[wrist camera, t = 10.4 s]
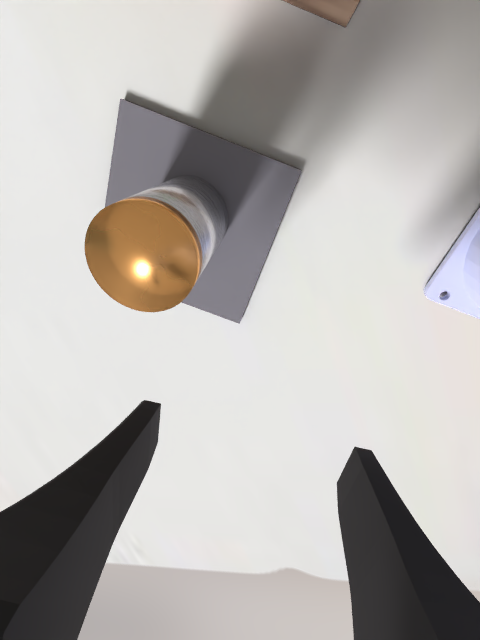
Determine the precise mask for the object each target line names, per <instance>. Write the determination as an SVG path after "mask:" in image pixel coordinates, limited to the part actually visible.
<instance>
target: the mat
mask: <svg viewBox="0 0 480 640" xmlns="http://www.w3.org/2000/svg"><path fill="white" fill-rule="evenodd" d="M300 173H301V170H300V169H297V168H295V167H292V166H290V165H287V164H285V163H282V162H280V161H277V160H275V159H272V158H270V157H267V156H265V155H262V154H259V153H257V152H254V151H252V150H249V149H247V148H244V147H242V146H239V145H237V144H234V143H232V142H229V141H227V140H224V139H222V138H219V137H217V136H214V135H212V134H209V133H207V132H204V131H202V130H199V129H197V128H194V127H192V126H189V125H187V124H184V123H182V122H179V121H177V120H174V119H172V118H169V117H167V116H164V115H162V114H159V113H157V112H154V111H152V110H149V109H147V108H144V107H142V106H139V105H137V104H134V103H132V102H129V101H127V100H124V99H120V105H119V112H118V119H117V126H116V133H115V140H114V147H113V154H112V161H111V168H110V175H109V182H108V189H107V196H106V203H105V207H107V206H109V205H111V204H113V203H116V202H118V201H120V200H123V199H125V198H128V197H130V196H133V195H135V194H137V193H140V192H142V191H145V190H147V189H149V188H152V187H154V186H157V185H159V184H162V183H164V182H166V181H169V180H171V179H174V178H177V177H180V176H194V177H198V178H201V179H203V180H205V181H207V182H209V183H210V184H211V185H213V186H214V187H215V188H216V189H217V190H218V192H219V193H220V194H221V196H222V198H223V199H224V202H225V204H226V207H227V212H228V226H227V230H226V233H225V235H224V237H223V239H222V240H221V242H220V244H219V245H218V247H217V249H216V250H215V252H214V254H213V255H212V257H211V259H210V260H209V262H208V263H207V265H206V267H205V268H204V270H203V272H202V273H201V275H200V277H199V278H198V280H197V282H196V283H195V285H194V287H193V288H192V290H191V292H190V293H189V294H188V296H187V297H186V298H185V299H184V300H183V301H182V303H185V304H187V305H190V306H193V307H196V308H198V309H201V310H204V311H206V312H209V313H212V314H215V315H217V316H220V317H223V318H225V319H228V320H231V321H234V322H236V323H240V321H241V319H242V316H243V314H244V311H245V309H246V306H247V304H248V301H249V299H250V296H251V294H252V291H253V289H254V287H255V284H256V282H257V279H258V277H259V274H260V272H261V269H262V267H263V264H264V262H265V259H266V257H267V254H268V252H269V250H270V247H271V245H272V242H273V240H274V237H275V235H276V232H277V230H278V227H279V225H280V222H281V220H282V217H283V215H284V213H285V210H286V208H287V205H288V203H289V200H290V198H291V195H292V193H293V190H294V188H295V185H296V183H297V180H298V178H299V176H300Z"/></svg>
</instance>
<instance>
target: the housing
mask: <svg viewBox="0 0 480 640" xmlns="http://www.w3.org/2000/svg"><path fill="white" fill-rule="evenodd" d="M283 1H285V2H287V3H290V4H292V5H294V6H297V7H299V8H301V9H304V10H306V11H308V12H311V13H313V14H315V15H318V16H320V17H322V18H325V19H327V20H329V21H332V22H334V23H336V24H339V25H341V26H343V27H346V26H347V24H348V22H349V20H350V18H351V16H352V15H353V13H354V11H355V9H356V7H357V5H358V3H359V1H360V0H283Z"/></svg>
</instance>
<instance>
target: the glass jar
mask: <svg viewBox="0 0 480 640" xmlns="http://www.w3.org/2000/svg"><path fill="white" fill-rule="evenodd" d="M227 226H228V212H227V207H226V204H225V202H224V199H223V198H222V196H221V194H220V193H219V192H218V190H217V189H216V188H215V187H214V186H213V185H211V184H210V183H209V182H207V181H205V180H203V179H201V178H198V177H194V176H180V177H177V178H174V179H171V180H169V181H166V182H164V183H162V184H159V185H157V186H154V187H152V188H149V189H147V190H145V191H142V192H140V193H137V194H135V195H133V196H130V197H128V198H125V199H123V200H120V201H118V202H116V203H113V204H111V205H109V206H107V207H105V208H104V209H102V210H101V211H100V212H99V213H98V214H97V215H96V216H95V217H94V218H93V220H92V221H91V223H90V225H89V227H88V230H87V233H86V238H85V255H86V260H87V264H88V266H89V269H90V271H91V273H92V275H93V277H94V279H95V280H96V282H97V283H98V284H99V286H100V287H101V288H102V289H103V290H104V291H105V292H106V293H107V294H108V295H109V296H110V297H111V298H113V299H114V300H116V301H117V302H119V303H120V304H122V305H124V306H126V307H129V308H131V309H134V310H138V311H144V312H159V311H164V310H167V309H170V308H172V307H174V306H176V305H178V304H179V303H180V302H182V301H183V300H184V299H185V298H186V297H187V296H188V294H189V293H190V292H191V290H192V288H193V287H194V285H195V283H196V282H197V280H198V278H199V277H200V275H201V273H202V272H203V270H204V268H205V267H206V265H207V263H208V262H209V260H210V259H211V257H212V255H213V254H214V252H215V250H216V249H217V247H218V245H219V244H220V242H221V240H222V239H223V237H224V235H225V233H226V230H227Z"/></svg>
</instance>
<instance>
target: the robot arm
mask: <svg viewBox="0 0 480 640" xmlns="http://www.w3.org/2000/svg"><path fill="white" fill-rule="evenodd" d="M444 291H447V294H446V295H445V296H444V297H439V296H440V294H441V293H442V292H444ZM424 294H425V296H426V297H427V298H428V299H429V300H431V301H434V302H437V303H439V304H442V305H444V306H447V307H450V308H452V309H455V310H457V311H460V312H463V313H465V314H468V315H470V316H473V317H476V318H478V319H480V208H479V209H478V211H477V212H476V213H475V215H474V216H473V218H472V219H471V221H470V222H469V224H468V225H467V227H466V228H465V230H464V231H463V232H462V234H461V235H460V237H459V238H458V240H457V241H456V243H455V244H454V246H453V247H452V248H451V250H450V251H449V253H448V254H447V256H446V257H445V259H444V260H443V262H442V263H441V265H440V266H439V267H438V269H437V270H436V272H435V273H434V275H433V276H432V278H431V279H430V281H429V282H428V283H427V285H426V286H425V289H424ZM160 409H161V404H160V403H155V402H151V401H146V400H144V401H142V402H141V403H140V404H139V405H138V406H137V407H136V409H135V410H134V411H133V412H132V413H131V414H130V415H129V416H128V417H127V418H126V419H125V420H124V421H123V422H122V423H121V424H120V425H119V426H117V427H116V428H115V429H114V430H113V431H112V432H111V433H110V434H109V435H108V436H107V437H105V438H104V439H103V440H102V441H101V442H100V443H99V444H98V445H96V446H95V447H94V448H93V449H91V450H90V451H89V452H88V453H87V454H85V455H84V456H83V457H82V458H81V459H79V460H78V461H77V462H75V463H74V464H73V465H72V466H70V467H69V468H68V469H66V470H65V471H64V472H62V473H61V474H59V475H58V476H57V477H55V478H54V479H52V480H51V481H49V482H48V483H46V484H45V485H43V486H42V487H40V488H39V489H37V490H36V491H34V492H33V493H31V494H30V495H28V496H27V497H25V498H23V499H22V500H20V501H18V502H17V503H15V504H13V505H12V506H10V507H8V508H6V509H5V510H3V511H1V512H0V640H77V638H78V635H79V633H80V630H81V627H82V624H83V621H84V619H85V616H86V613H87V610H88V608H89V605H90V602H91V600H92V597H93V594H94V592H95V589H96V586H97V583H98V581H99V578H100V575H101V573H102V570H103V568H104V565H105V562H106V560H107V557H108V555H109V552H110V549H111V547H112V544H113V542H114V540H115V537H116V535H117V533H118V530H119V528H120V526H121V524H122V522H123V520H124V518H125V516H126V514H127V512H128V510H129V508H130V506H131V504H132V502H133V499H134V497H135V495H136V493H137V491H138V489H139V487H140V485H141V483H142V481H143V479H144V477H145V475H146V472H147V470H148V468H149V465H150V463H151V460H152V457H153V454H154V451H155V449H156V446H157V443H158V433H159V421H160ZM337 498H338V514H339V521H340V527H341V534H342V540H343V546H344V553H345V559H346V565H347V571H348V578H349V584H350V593H351V602H352V616H353V629H354V640H480V602H479V601H478V600H477V599H476V598H475V597H474V595H472V593H471V592H470V591H469V590H468V589H467V587H466V586H465V585H464V584H463V583H462V582H461V580H460V579H459V578H458V577H457V575H456V574H455V573H454V572H453V570H452V569H451V568H450V567H449V565H448V564H447V563H446V562H445V560H444V559H443V558H442V557H441V555H440V554H439V553H438V551H437V550H436V549H435V547H434V546H433V545H432V543H431V542H430V541H429V539H428V538H427V536H426V535H425V534H424V532H423V531H422V529H421V528H420V527H419V525H418V524H417V522H416V521H415V519H414V518H413V516H412V515H411V513H410V512H409V510H408V509H407V507H406V506H405V504H404V503H403V501H402V499H401V498H400V496H399V495H398V493H397V492H396V490H395V488H394V487H393V485H392V484H391V482H390V480H389V479H388V477H387V475H386V474H385V472H384V470H383V469H382V467H381V465H380V464H379V462H378V460H377V459H376V457H375V456H374V454H373V452H372V451H371V450H367V449H362V448H358V447H354V449H353V451H352V453H351V455H350V457H349V459H348V461H347V463H346V465H345V468H344V470H343V472H342V474H341V476H340V478H339V480H338V482H337Z"/></svg>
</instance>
